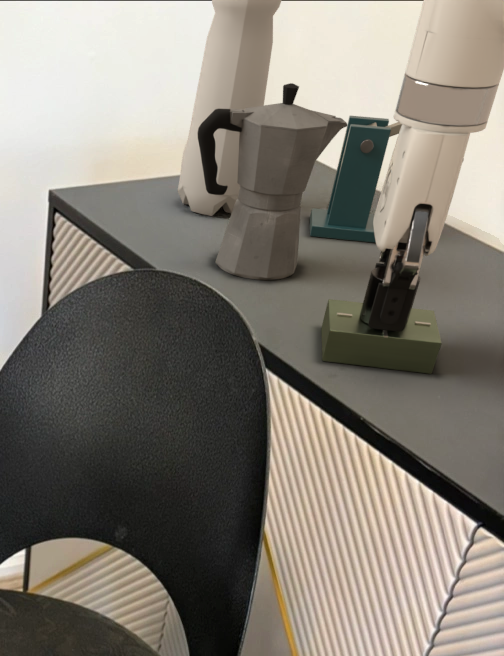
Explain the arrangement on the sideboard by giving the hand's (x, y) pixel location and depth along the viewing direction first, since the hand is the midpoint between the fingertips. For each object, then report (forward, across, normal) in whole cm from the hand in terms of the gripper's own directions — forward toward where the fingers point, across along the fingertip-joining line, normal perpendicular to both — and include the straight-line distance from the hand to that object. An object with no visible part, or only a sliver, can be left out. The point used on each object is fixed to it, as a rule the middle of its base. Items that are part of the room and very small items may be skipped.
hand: (384, 316), depth 105 cm
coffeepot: (+4, -20, -13) cm, 24 cm away
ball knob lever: (-7, -36, +3) cm, 37 cm away
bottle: (+4, -40, -18) cm, 44 cm away
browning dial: (0, 0, 0) cm, 0 cm away
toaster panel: (+3, 0, 0) cm, 3 cm away
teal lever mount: (+3, -36, -2) cm, 36 cm away
